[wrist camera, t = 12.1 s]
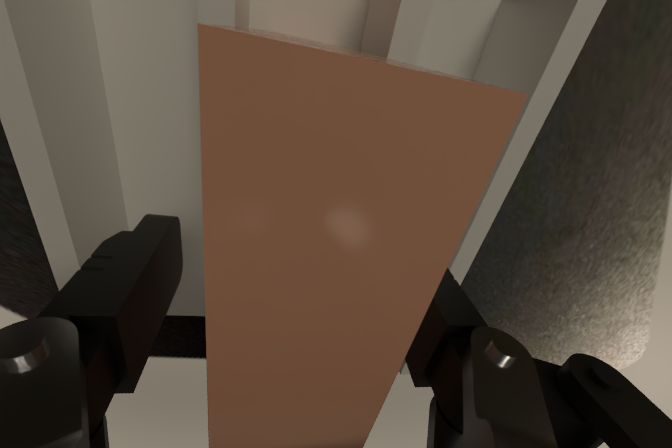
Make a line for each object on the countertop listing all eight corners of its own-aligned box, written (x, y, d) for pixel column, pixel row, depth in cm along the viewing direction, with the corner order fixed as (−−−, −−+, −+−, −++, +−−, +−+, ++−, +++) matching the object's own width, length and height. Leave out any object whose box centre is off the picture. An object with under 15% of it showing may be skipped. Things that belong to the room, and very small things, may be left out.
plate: (269, 30, 10) (198, 23, 2) (339, 45, 11) (528, 94, 2) (251, 281, 16) (212, 567, 7) (298, 283, 16) (312, 554, 8)
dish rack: (59, -113, 9) (-138, -240, 5) (501, 9, 12) (614, -3, 8) (133, 293, 17) (83, 379, 13) (390, 302, 20) (418, 374, 16)
